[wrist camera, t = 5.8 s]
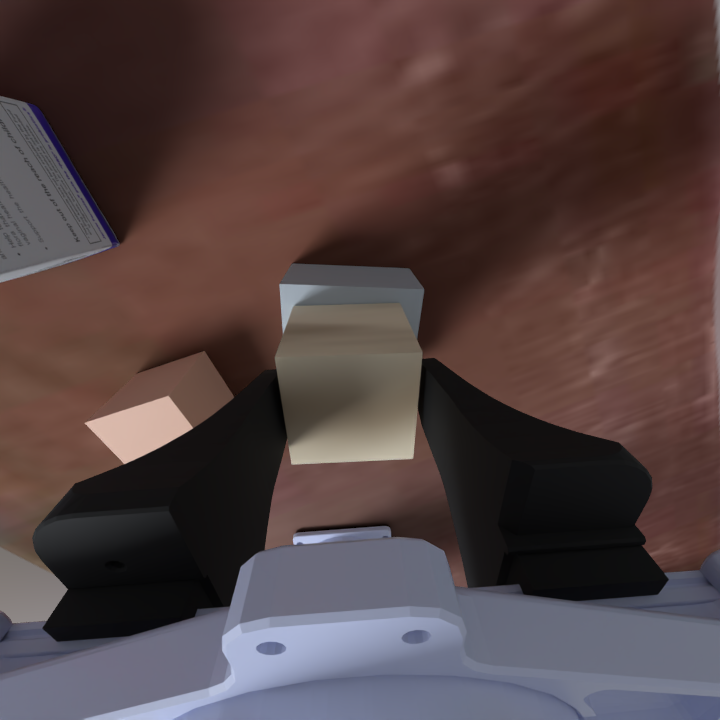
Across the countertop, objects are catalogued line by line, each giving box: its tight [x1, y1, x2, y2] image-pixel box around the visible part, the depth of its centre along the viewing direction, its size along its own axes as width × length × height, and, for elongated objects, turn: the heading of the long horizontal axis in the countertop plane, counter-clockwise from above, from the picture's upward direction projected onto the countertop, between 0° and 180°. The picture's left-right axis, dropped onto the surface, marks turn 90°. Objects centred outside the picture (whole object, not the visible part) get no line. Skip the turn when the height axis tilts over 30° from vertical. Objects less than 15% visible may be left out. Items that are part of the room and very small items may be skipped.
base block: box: [280, 264, 424, 339], centre depth 17 cm, size 6×6×4 cm
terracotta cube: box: [85, 351, 234, 464], centre depth 18 cm, size 4×4×4 cm
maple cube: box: [275, 303, 423, 464], centre depth 13 cm, size 4×4×4 cm
